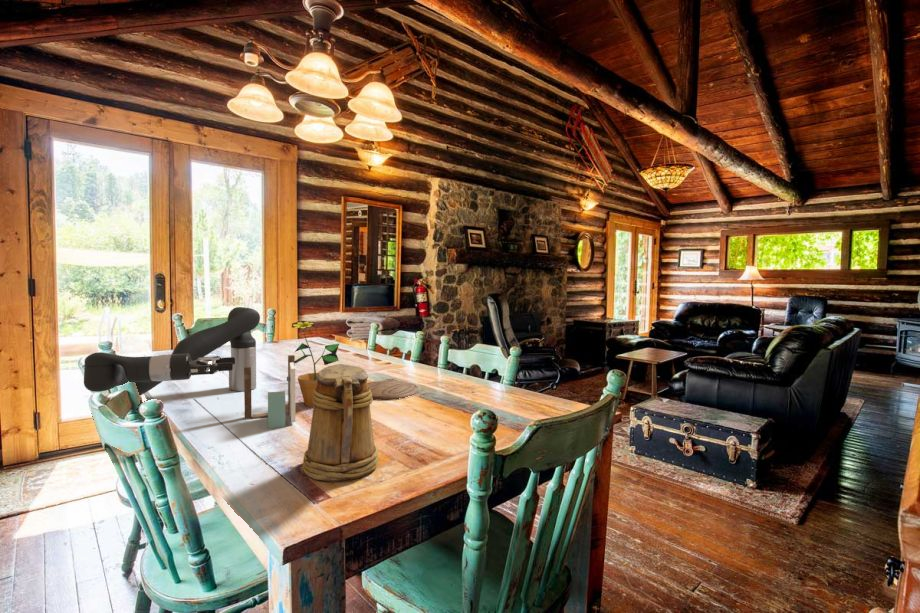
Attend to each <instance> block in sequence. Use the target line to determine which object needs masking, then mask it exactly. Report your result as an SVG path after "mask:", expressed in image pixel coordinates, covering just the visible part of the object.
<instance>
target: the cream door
mask: <svg viewBox="0 0 920 613" xmlns="http://www.w3.org/2000/svg"><path fill="white" fill-rule="evenodd" d="M286 381H287V382H288V381H290V415H289V416H290V421H291V422H292V423H294V422H295V423H296V365H295V366H294V362H291V363H290V376H289V377H288V376H286Z"/></svg>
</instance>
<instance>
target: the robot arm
mask: <svg viewBox="0 0 920 613" xmlns="http://www.w3.org/2000/svg"><path fill="white" fill-rule="evenodd" d="M260 321H261V315H260V313H259V312H258V311H257V310H255V309H254V308H250V307H245V306H241V307H240V306H238V307H234V308H232V309H231V310H230V312H229V313H228V316H227V321H225V322H223V323H220V324H217V325H214V326H211V327H208V328H205V329H202V330H201V329H200V330H199V331H196V332H194V333H191V334H190V335H188V336H186V337H185V338H183V339H181V340H180V341H179V342H178V343H177V344H176V345H175V347H174V348H173V350H172V353H171V354H170V353H169V354H168V353H167V354H158V355H151V356H150V355H149V356H125V355H119V354H113V353H108V352H101V351H100V352H94V353H90V354H89V355H88V356H86V357H85V359H84V366H83V368H84V369H83V370H84V371H83V372H84V373H83V385H84V388H85V389H87V390H88V391H90V392H94V393H95V392H96V393H98V392H99V393H100V392H106V391H109V390H111V389H114V388H116V387H121V386H120V385H123V384H125V383H127V382H128V381H129V382H135V383H136V386H137V389H138V392H139V395H140V396H142V395H144V394H146V393H147V392H149V391H151V390H153V388H156V386H158V385H159V384H160V385H161V383H162V382H171V381H183V380H190V379H191V377H192V376H200V375H203V376H204V375H214V374H216V373H218V372H228V390H230V391H235V392H244V366H251V391H252V390H255V389H257V346H256V345H257V341H256V339H255V338H254V337H253V335H252V333H251V331H253V330H254V329H256V328H257V327H258V325H259V323H260ZM228 342H229V343H230V356H229V357H221V356H219V355H216V356H209V354H211V353H212V352H214V351H216V350H217V349H219V348H221V347H222V346H224V345H225V344H227V343H228Z"/></svg>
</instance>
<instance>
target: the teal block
mask: <svg viewBox="0 0 920 613" xmlns="http://www.w3.org/2000/svg"><path fill="white" fill-rule="evenodd" d="M267 413H268V417H267V429H272V428H275V429H276V428H284V427H286V391H285V390H284V391H283V390H282V391H281V390H280V391H269V392H267Z"/></svg>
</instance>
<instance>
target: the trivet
mask: <svg viewBox="0 0 920 613" xmlns="http://www.w3.org/2000/svg"><path fill="white" fill-rule="evenodd" d="M367 383H368V386H369V387H370V388H371V392H372V398H373V400H375V399H381V400H380V401H390V400H389V399H396V400H400V399H399V398H404V399H406V398H405V397H408V396H412V395H414V394H416V393H417V392H418V393H419V386H418V385H417V384H415V383H413V382H407V381H402V380H376V381H369V382H367ZM418 393H417V394H418ZM417 394H416V395H417ZM414 396H415V395H414ZM412 397H413V396H412ZM408 398H409V397H408Z"/></svg>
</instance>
